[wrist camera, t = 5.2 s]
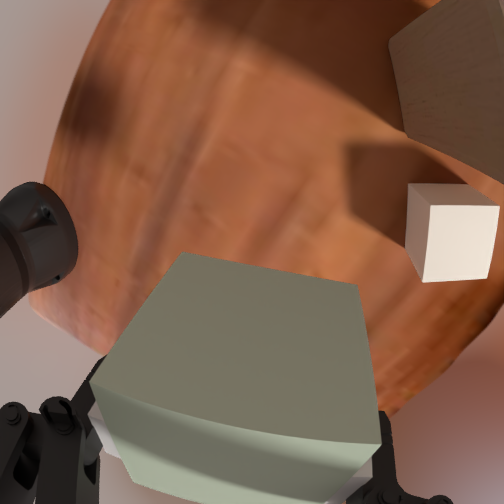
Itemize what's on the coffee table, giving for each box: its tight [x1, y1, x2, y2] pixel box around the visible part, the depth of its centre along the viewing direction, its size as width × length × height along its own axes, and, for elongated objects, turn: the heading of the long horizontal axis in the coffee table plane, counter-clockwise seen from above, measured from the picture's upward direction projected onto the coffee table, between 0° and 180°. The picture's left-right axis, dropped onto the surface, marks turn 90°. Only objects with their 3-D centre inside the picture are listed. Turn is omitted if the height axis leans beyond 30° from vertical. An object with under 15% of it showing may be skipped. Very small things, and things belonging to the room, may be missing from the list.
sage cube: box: [89, 252, 382, 504], centre depth 11 cm, size 7×7×7 cm
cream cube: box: [405, 183, 500, 282], centre depth 26 cm, size 7×7×7 cm
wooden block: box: [388, 0, 504, 184], centre depth 15 cm, size 10×10×20 cm
